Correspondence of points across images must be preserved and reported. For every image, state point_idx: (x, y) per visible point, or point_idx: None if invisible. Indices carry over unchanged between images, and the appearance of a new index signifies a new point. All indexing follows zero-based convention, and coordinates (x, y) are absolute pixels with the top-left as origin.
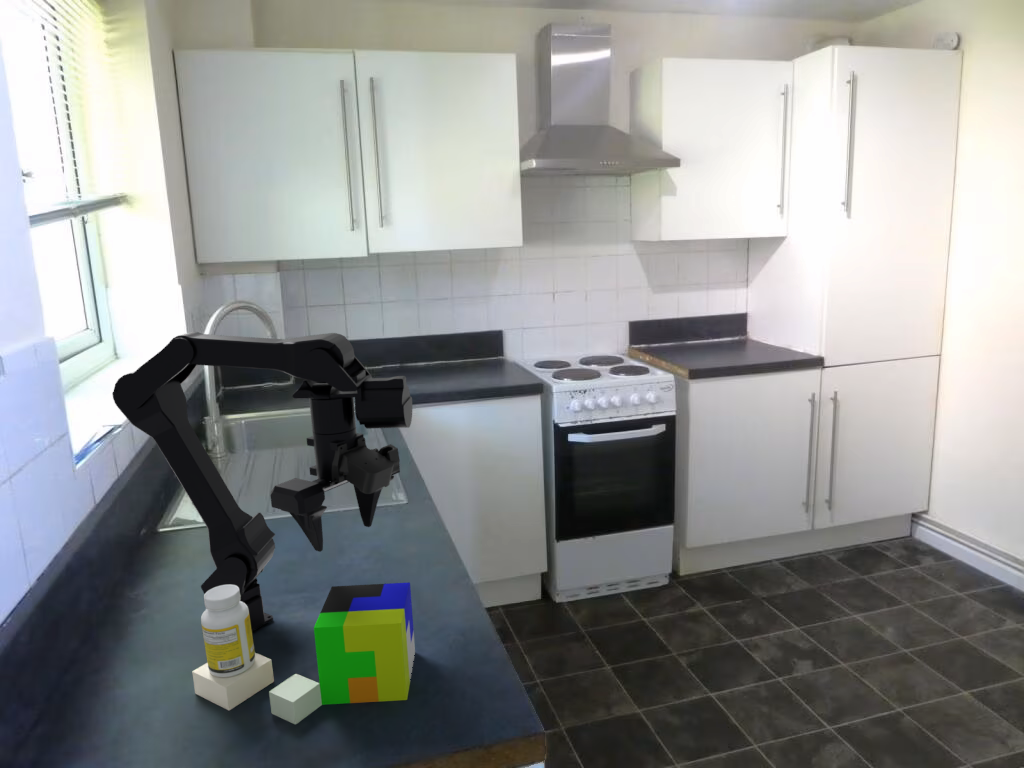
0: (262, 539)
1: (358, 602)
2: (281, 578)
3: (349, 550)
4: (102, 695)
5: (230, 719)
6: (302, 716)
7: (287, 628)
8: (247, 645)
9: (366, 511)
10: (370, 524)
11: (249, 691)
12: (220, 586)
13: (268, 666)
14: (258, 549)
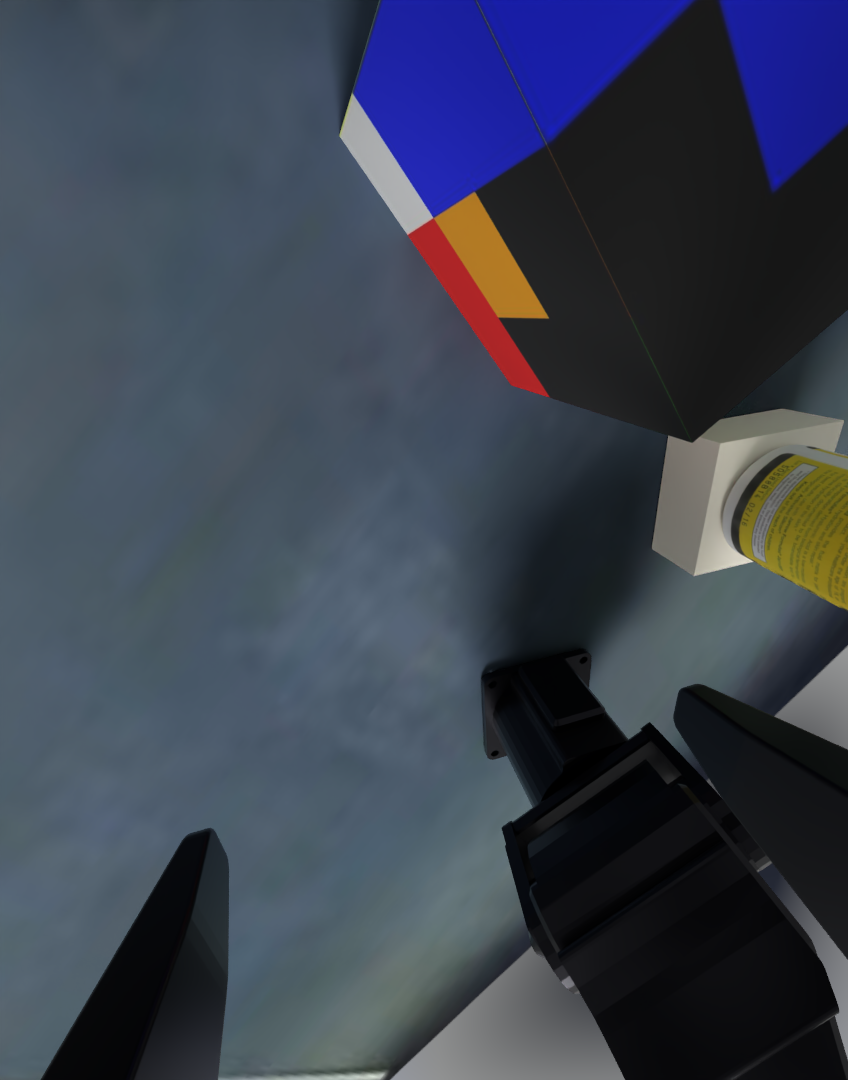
0: (657, 931)
1: (819, 91)
2: (339, 833)
3: (88, 885)
4: (791, 639)
5: (803, 375)
6: None
7: (487, 619)
8: (843, 468)
9: (187, 1021)
10: (194, 847)
11: (745, 419)
12: None
13: (717, 438)
14: (712, 869)
